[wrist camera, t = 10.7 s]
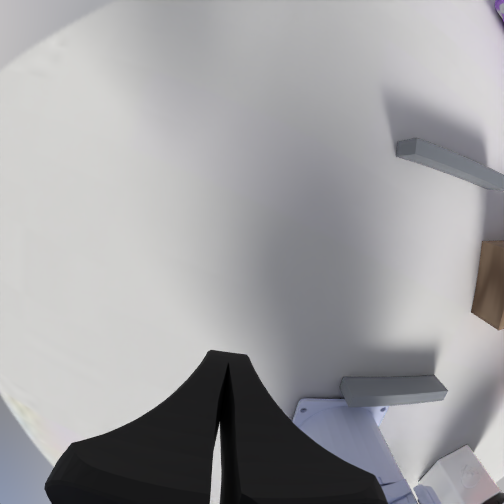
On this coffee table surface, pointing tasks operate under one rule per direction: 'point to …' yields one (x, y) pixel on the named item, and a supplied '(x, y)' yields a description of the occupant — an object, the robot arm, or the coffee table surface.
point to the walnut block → (490, 285)
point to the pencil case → (500, 7)
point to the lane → (428, 387)
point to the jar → (462, 480)
